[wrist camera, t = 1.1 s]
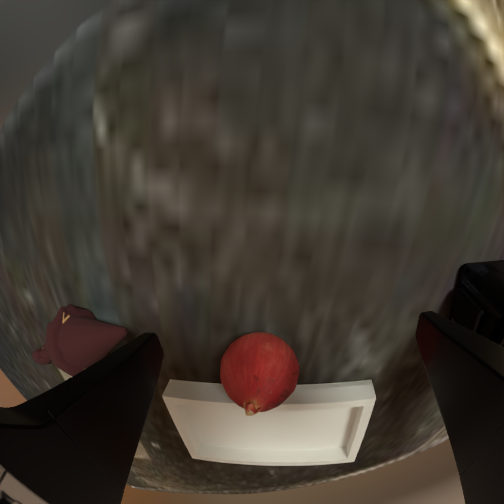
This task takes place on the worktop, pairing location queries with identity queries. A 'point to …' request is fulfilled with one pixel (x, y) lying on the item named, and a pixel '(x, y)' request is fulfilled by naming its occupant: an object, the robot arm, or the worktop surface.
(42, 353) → the dark red toy figure
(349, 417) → the tray
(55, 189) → the worktop surface
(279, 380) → the onion
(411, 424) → the worktop surface
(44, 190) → the worktop surface
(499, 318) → the robot arm
